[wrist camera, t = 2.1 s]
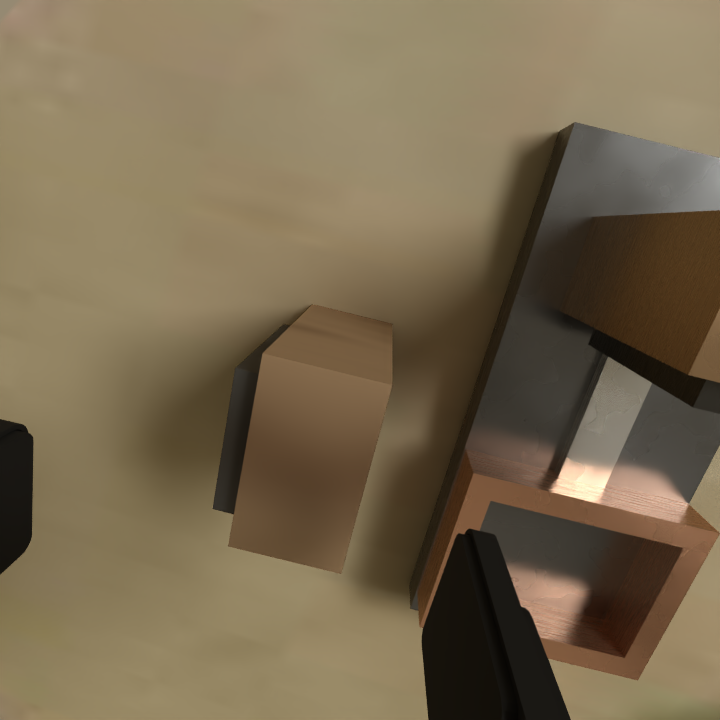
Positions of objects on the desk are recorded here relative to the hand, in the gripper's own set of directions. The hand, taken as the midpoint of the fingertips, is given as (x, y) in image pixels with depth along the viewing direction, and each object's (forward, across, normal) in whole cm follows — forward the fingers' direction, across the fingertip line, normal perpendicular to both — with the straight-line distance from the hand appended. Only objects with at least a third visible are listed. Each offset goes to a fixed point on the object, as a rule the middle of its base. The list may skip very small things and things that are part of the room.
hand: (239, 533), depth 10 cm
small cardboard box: (+11, -1, 0) cm, 11 cm away
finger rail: (+11, -12, -1) cm, 17 cm away
